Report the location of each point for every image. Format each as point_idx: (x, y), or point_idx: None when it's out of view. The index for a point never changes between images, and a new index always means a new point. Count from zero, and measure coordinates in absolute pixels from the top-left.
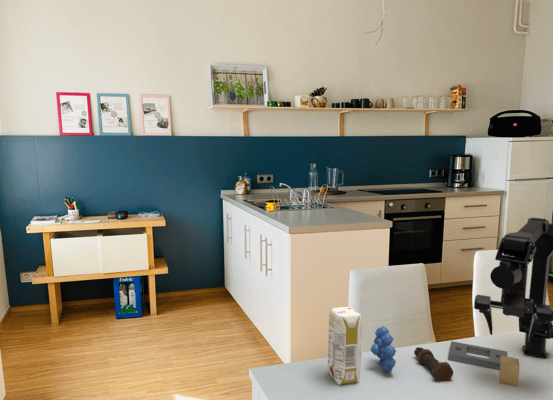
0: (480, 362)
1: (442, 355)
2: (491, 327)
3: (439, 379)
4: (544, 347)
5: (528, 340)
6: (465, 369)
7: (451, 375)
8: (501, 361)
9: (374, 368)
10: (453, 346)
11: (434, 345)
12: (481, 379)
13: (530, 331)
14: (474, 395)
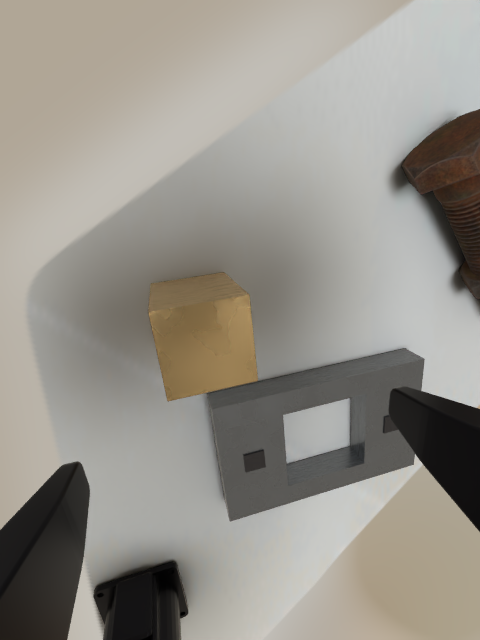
0: (309, 379)
1: None
2: (469, 419)
3: (444, 126)
4: (104, 637)
5: (87, 486)
6: (348, 310)
7: (412, 164)
8: (246, 306)
9: None
10: None
11: None
12: (289, 260)
13: (19, 586)
14: (304, 77)
